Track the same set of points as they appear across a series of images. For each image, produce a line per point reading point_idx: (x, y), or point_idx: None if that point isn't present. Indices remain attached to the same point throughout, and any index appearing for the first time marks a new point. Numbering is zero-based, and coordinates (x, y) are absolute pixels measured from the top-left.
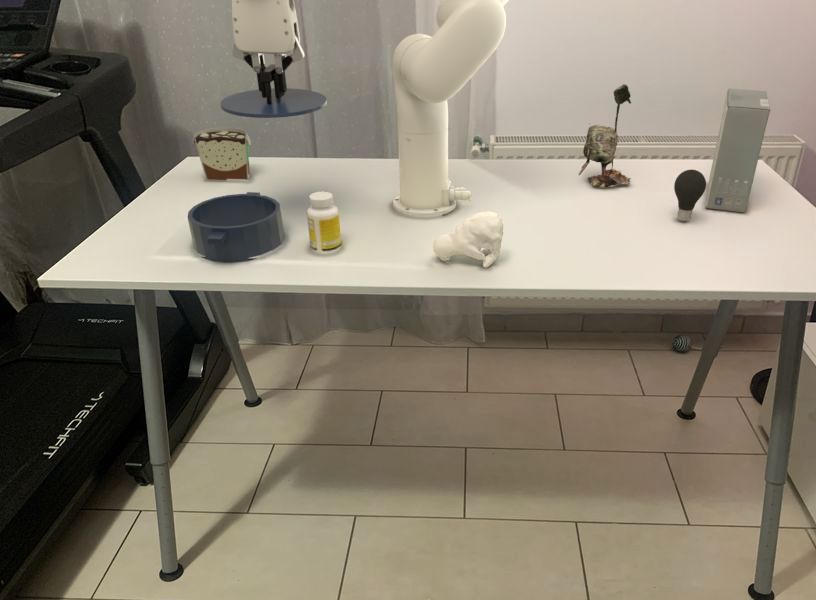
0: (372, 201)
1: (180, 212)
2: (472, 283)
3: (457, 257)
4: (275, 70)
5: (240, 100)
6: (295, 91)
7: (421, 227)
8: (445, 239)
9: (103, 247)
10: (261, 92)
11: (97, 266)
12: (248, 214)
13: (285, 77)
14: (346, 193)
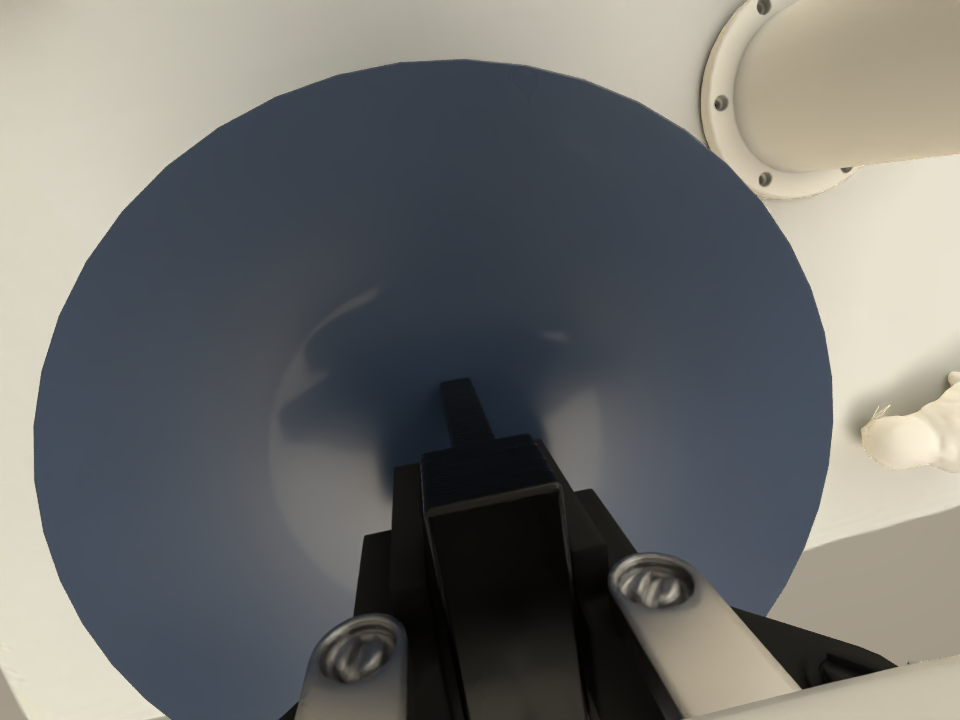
0: (625, 87)
1: (43, 336)
2: (919, 504)
3: (891, 405)
4: (605, 713)
5: (229, 582)
6: (515, 173)
7: (799, 259)
8: (921, 464)
9: (26, 597)
10: (235, 300)
11: (106, 674)
12: None
13: (630, 543)
14: (515, 25)
